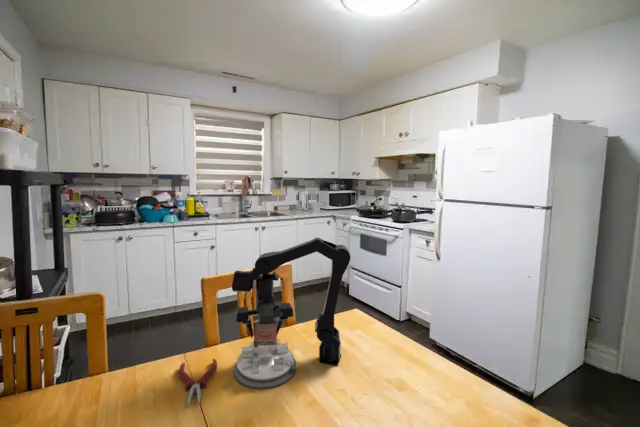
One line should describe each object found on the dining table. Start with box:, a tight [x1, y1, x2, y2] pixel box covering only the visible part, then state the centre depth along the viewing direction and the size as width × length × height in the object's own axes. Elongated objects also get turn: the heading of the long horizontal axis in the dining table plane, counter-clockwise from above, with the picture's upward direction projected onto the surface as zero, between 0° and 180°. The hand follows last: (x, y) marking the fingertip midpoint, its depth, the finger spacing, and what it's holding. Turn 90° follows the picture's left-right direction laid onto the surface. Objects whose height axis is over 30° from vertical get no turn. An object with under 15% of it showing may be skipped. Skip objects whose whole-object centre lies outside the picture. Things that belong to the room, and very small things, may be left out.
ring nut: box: [236, 339, 295, 382], centre depth 102 cm, size 18×18×4 cm
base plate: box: [233, 357, 298, 390], centre depth 103 cm, size 20×20×1 cm
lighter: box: [252, 315, 278, 346], centre depth 108 cm, size 8×3×10 cm, turn 93°
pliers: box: [178, 358, 218, 408], centre depth 95 cm, size 12×20×3 cm, turn 17°
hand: (264, 336), depth 108 cm, fingers closed on lighter, 8 cm apart
